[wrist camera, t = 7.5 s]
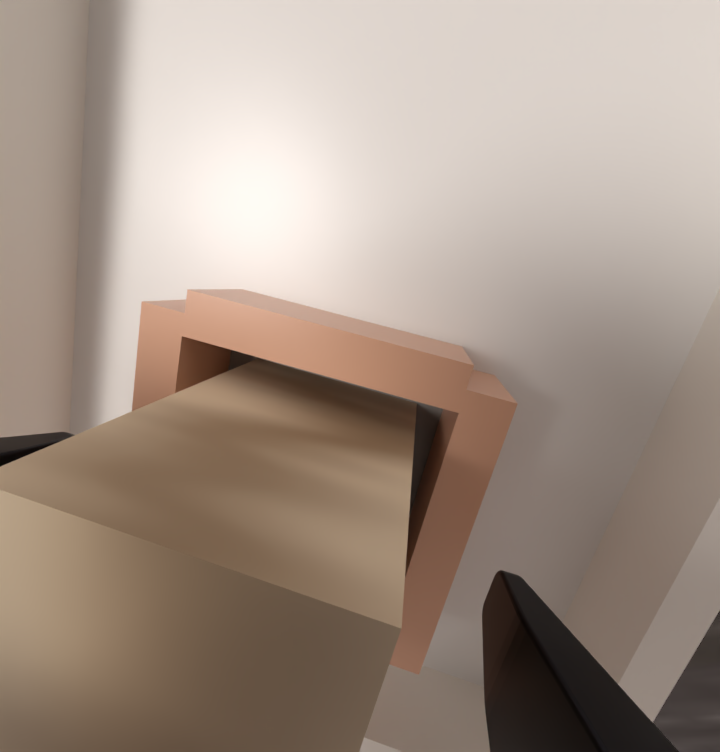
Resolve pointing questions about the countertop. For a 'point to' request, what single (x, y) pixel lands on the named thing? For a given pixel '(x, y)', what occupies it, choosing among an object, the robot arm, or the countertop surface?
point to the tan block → (208, 571)
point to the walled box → (402, 281)
